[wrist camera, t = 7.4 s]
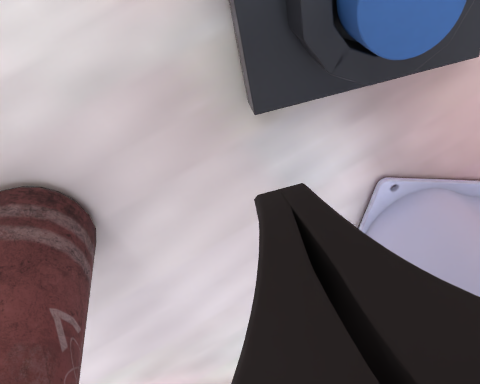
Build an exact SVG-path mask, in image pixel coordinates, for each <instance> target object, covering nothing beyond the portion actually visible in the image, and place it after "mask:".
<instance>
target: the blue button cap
mask: <svg viewBox="0 0 480 384" xmlns="http://www.w3.org/2000/svg"><path fill="white" fill-rule="evenodd" d="M465 3H466V0H337V3H336V4H337V12H338V16H339V19H340V22H341V24H342V26H343V28H344V29H345V31H346V32H347V33H348V34H349V35H350V36H351V37H352V38H353V39H355V40H356V41H357V42H359V43H360V44H362V45H363V46H364V47H366V48H367V49H369V50H370V51H371V52H373V53H374V54H376V55H377V56H380V57H382V58H385V59H389V60H404V59H409V58H413V57H416V56H418V55H421V54H423V53H425V52H426V51H428V50H430V49H431V48H433V47H434V46H435V45H437V44H438V43H439V42H440V41H441V40H442V39H443V38H444V37H445V36H446V35H447V34H448V33H449V32H450V30H451V29H452V28H453V26H454V25H455V23H456V22H457V20H458V19H459V17H460V15H461V13H462V11H463V8H464V6H465Z"/></svg>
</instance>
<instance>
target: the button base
mask: <svg viewBox="0 0 480 384" xmlns="http://www.w3.org/2000/svg"><path fill="white" fill-rule="evenodd" d="M229 3H230V8H231V13H232V19H233V24H234V29H235V35H236V40H237V45H238V50H239V56H240V61H241V66H242V72H243V77H244V82H245V88H246V93H247V98H248V102H249V104H250V106H251V108H252V110H253V112H254V114H255V115H257V114H261V113H265V112H269V111H273V110H277V109H280V108H284V107H288V106H292V105H296V104H300V103H303V102H307V101H311V100H315V99H319V98H323V97H326V96H330V95H334V94H338V93H342V92H346V91H349V90H353V89H357V88H361V87H365V86H369V85H373V84H377V83H381V82H384V81H388V80H392V79H396V78H400V77H404V76H407V75H411V74H415V73H419V72H422V71H426V70H430V69H434V68H438V67H442V66H445V65H449V64H453V63H457V62H461V61H465V60H468V59H472V58H476V57H479V54H480V0H466V3H465V6H464V8H463V11H462V13H461V15H460V17H459V19H458V20H457V22H456V23H455V25H454V26H453V28H452V29H451V30H450V32H449V33H448V34H447V35H446V36H445V37H444V38H443V39H442V40H441V41H440V42H439V43H438V44H437V45H435V46H434V47H433V48H431V49H430V50H428V51H426V52H425V53H423V54H421V55H418V56H416V57H413V58H409V59H404V60H389V59H385V58H382V57H380V56H377V55H376V54H374V53H373V52H371V51H370V50H369V49H367V48H366V47H364V46H363V45H362V44H360V43H359V42H357V41H356V40H355V39H353V38H352V37H351V36H350V35H349V34H348V33H347V32H346V31H345V29H344V28H343V26H342V24H341V22H340V19H339V16H338V12H337V4H336V3H337V0H229Z"/></svg>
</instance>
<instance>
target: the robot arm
mask: <svg viewBox="0 0 480 384" xmlns="http://www.w3.org/2000/svg"><path fill="white" fill-rule="evenodd" d="M393 185H395V186H394V187H392V186H393ZM391 187H392V188H391ZM254 201H255V205H256V210H257V215H258V220H259V260H258V270H257V280H256V287H255V294H254V299H253V305H252V310H251V315H250V320H249V324H248V328H247V332H246V336H245V340H244V344H243V348H242V352H241V355H240V358H239V361H238V365H237V368H236V371H235V374H234V377H233V380H232V383H231V384H480V181H475V180H446V179H417V178H388V177H387V178H383V179H381V180H380V181H379V182H378V183H377V185H376V188H375V190H374V193H373V195H372V197H371V200H370V202H369V205H368V207H367V210H366V212H365V214H364V217H363V219H362V222H361V224H360V227H359V229H358V228H357V227H355V226H354V225H353V224H351V223H350V222H349V221H347V220H346V219H345V218H343V217H342V216H341V215H340V214H338V213H337V212H336V211H335V210H334V209H332V208H331V207H330V206H329V205H328V204H326V203H325V202H324V201H323V200H322V199H321V198H319V197H318V196H317V195H316V194H315V193H314V192H313V191H312V190H311V189H310V188H308V187H307V186H306V185H305V184H303V183H301V184H297V185H293V186H290V187H286V188H282V189H278V190H275V191H271V192H267V193H264V194H260V195H257V197H256V198H255V199H254Z"/></svg>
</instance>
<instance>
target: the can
mask: <svg viewBox="0 0 480 384" xmlns="http://www.w3.org/2000/svg"><path fill="white" fill-rule="evenodd" d="M95 247H96V228H95V226H94V224H93V222H92V220H91V218H90V216H89V215H88V214H87V213H86V212H85V210H84V209H83V208H82V207H81V206H80V205H79V204H78V203H76V202H75V201H74V200H73V199H71V198H69V197H67V196H65V195H64V194H62V193H60V192H58V191H54V190H50V189H46V188H43V187H18V188H14V189H9V190H5V191H0V384H79V378H80V369H81V361H82V353H83V345H84V337H85V329H86V320H87V312H88V304H89V296H90V288H91V279H92V271H93V263H94V255H95Z"/></svg>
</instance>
